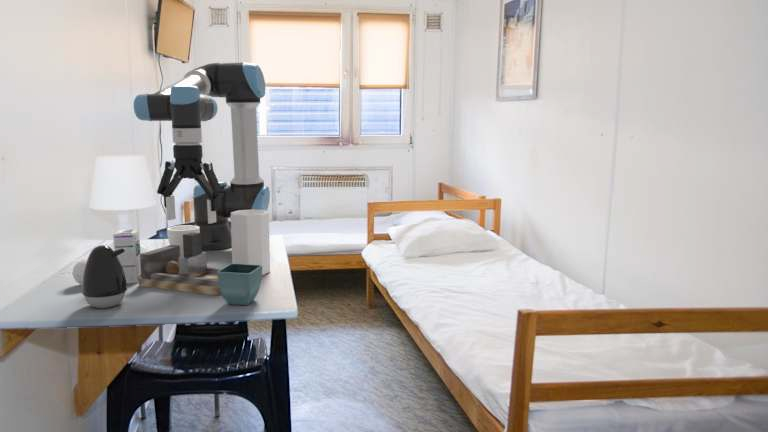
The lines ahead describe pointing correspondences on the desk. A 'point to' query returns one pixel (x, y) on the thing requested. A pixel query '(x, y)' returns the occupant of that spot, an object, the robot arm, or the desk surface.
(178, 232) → the foam cup
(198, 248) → the block
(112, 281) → the pump dispenser
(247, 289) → the flower pot
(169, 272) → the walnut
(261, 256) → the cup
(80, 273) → the white ball
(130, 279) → the syrup box
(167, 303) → the desk surface
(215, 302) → the desk surface
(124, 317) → the desk surface
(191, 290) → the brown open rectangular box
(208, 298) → the desk surface
